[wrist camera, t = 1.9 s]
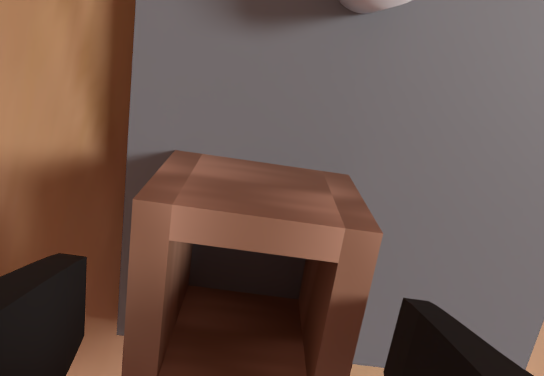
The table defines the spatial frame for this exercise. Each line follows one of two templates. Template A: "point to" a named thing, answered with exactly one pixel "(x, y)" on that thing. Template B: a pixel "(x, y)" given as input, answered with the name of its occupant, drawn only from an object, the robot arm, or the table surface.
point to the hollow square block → (257, 238)
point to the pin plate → (365, 142)
